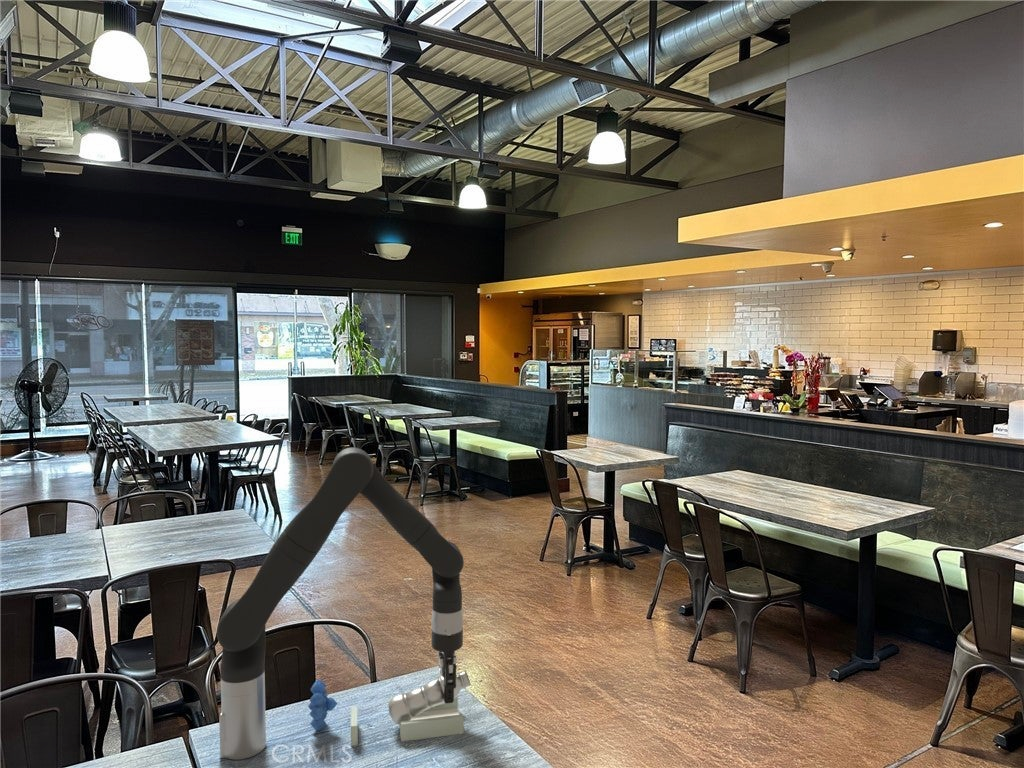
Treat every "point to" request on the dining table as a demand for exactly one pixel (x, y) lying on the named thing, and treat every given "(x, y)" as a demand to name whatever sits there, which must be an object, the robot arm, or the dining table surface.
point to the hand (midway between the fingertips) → (447, 695)
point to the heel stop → (354, 726)
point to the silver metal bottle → (423, 698)
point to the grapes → (320, 705)
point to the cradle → (434, 723)
